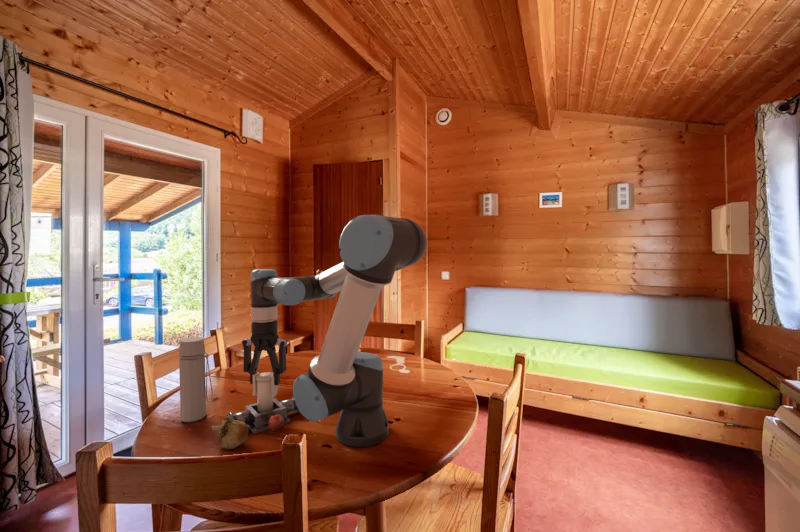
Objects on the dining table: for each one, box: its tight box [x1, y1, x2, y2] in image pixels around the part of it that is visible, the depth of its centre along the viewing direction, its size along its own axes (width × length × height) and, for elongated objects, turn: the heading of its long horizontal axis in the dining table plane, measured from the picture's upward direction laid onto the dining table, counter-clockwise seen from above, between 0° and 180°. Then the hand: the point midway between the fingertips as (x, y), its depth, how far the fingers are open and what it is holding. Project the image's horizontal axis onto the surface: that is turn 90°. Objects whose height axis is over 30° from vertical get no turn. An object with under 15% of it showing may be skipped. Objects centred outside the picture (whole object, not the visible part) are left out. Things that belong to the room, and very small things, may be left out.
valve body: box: [226, 396, 301, 435], centre depth 111 cm, size 14×21×6 cm
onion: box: [211, 417, 249, 450], centre depth 98 cm, size 8×8×8 cm
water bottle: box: [177, 336, 214, 423], centre depth 114 cm, size 9×8×25 cm
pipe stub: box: [256, 371, 274, 414], centre depth 112 cm, size 5×5×12 cm
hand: (265, 394), depth 112 cm, fingers closed on pipe stub, 5 cm apart
